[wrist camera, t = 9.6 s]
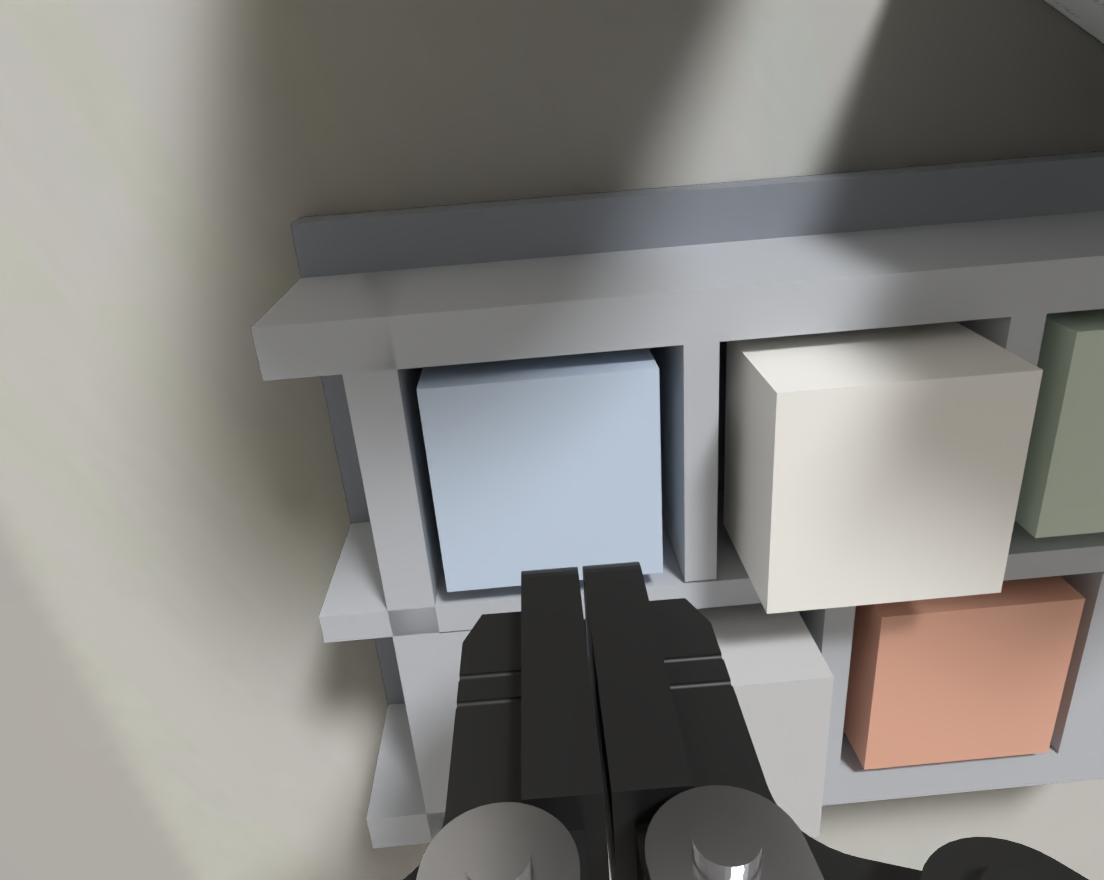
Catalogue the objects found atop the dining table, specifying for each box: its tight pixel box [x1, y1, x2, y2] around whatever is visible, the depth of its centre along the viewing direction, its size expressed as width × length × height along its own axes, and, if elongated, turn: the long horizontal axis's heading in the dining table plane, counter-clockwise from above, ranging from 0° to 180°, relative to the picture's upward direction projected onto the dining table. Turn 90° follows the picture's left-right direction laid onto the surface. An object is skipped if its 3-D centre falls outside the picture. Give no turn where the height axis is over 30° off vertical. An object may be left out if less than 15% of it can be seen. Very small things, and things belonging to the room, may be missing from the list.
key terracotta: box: [843, 576, 1085, 770], centre depth 18 cm, size 4×4×3 cm
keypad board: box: [251, 151, 1104, 849], centre depth 17 cm, size 20×14×4 cm
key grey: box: [697, 603, 834, 837], centre depth 16 cm, size 4×4×3 cm
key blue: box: [416, 348, 663, 592], centre depth 15 cm, size 4×4×3 cm
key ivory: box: [723, 322, 1043, 614], centre depth 14 cm, size 4×4×3 cm
